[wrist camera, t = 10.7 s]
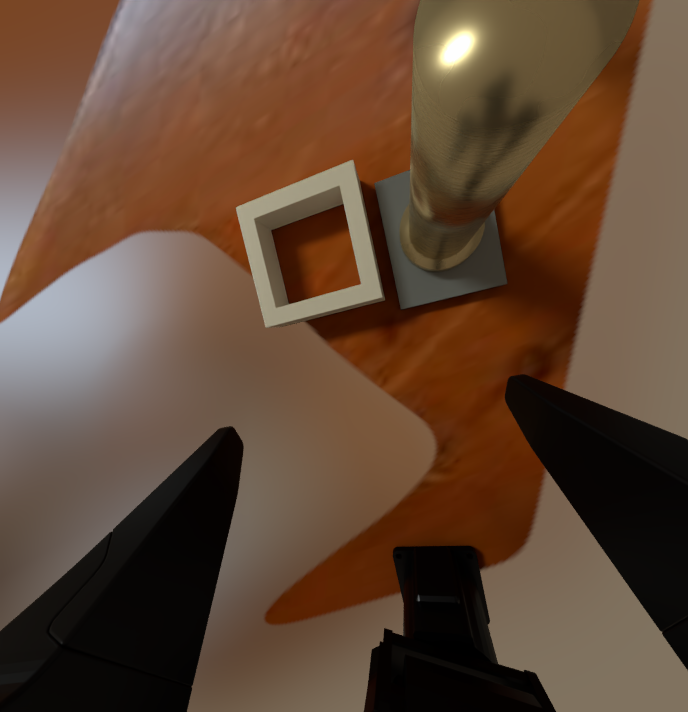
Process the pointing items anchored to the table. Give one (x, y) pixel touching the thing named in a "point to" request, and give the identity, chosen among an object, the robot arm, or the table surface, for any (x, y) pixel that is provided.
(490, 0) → the light bulb
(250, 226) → the socket
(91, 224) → the table surface
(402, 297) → the slate pad
